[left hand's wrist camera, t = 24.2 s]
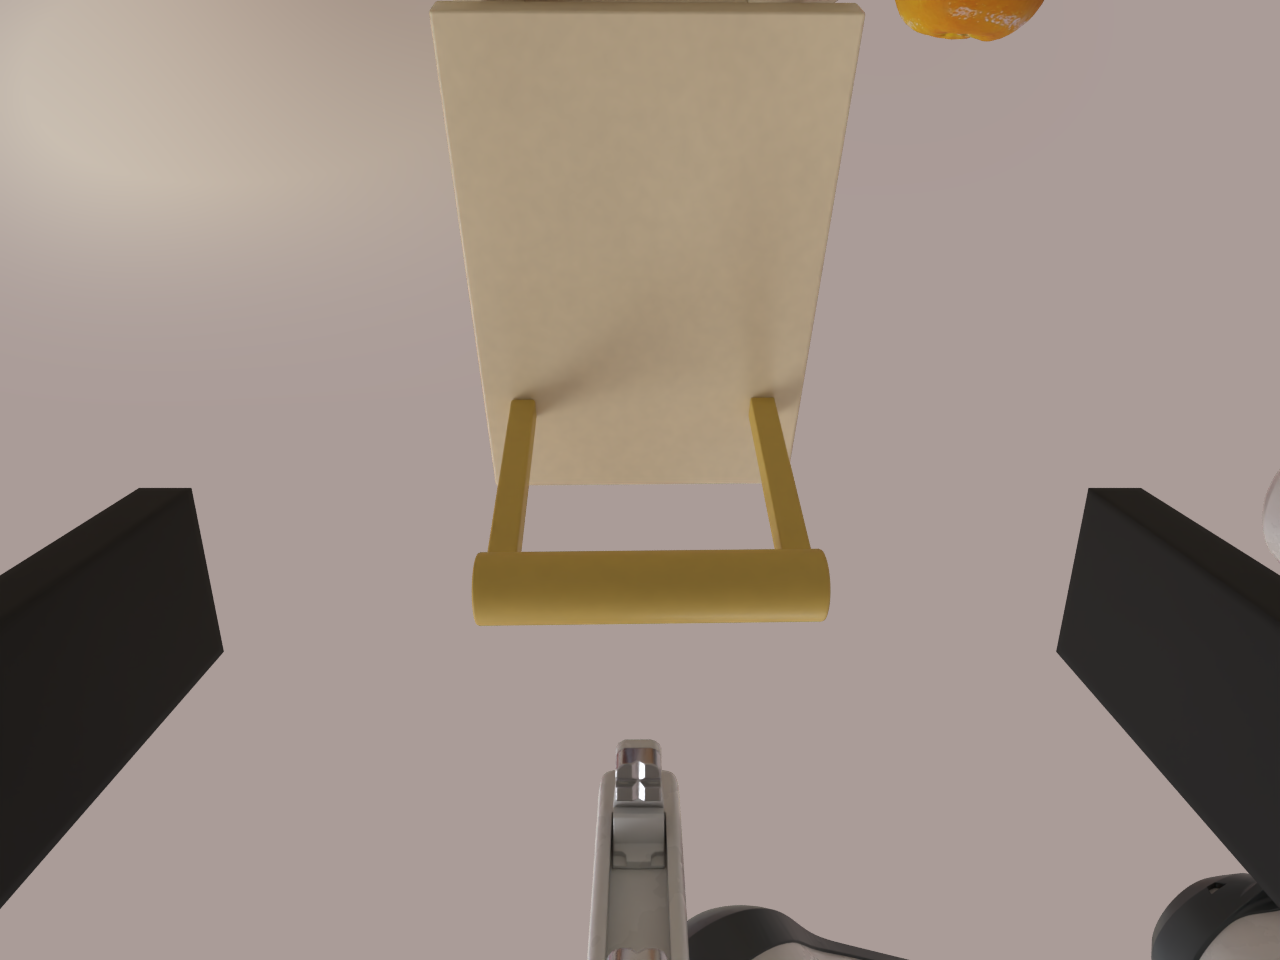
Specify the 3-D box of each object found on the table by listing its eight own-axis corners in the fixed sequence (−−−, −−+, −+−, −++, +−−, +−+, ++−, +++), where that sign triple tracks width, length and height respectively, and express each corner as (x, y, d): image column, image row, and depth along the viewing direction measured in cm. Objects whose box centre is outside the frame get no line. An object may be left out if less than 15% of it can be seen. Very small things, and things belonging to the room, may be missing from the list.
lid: (782, 466, 27) (835, 692, 21) (498, 468, 27) (461, 697, 20) (857, 2, 18) (988, 145, 12) (434, 0, 18) (335, 144, 12)
